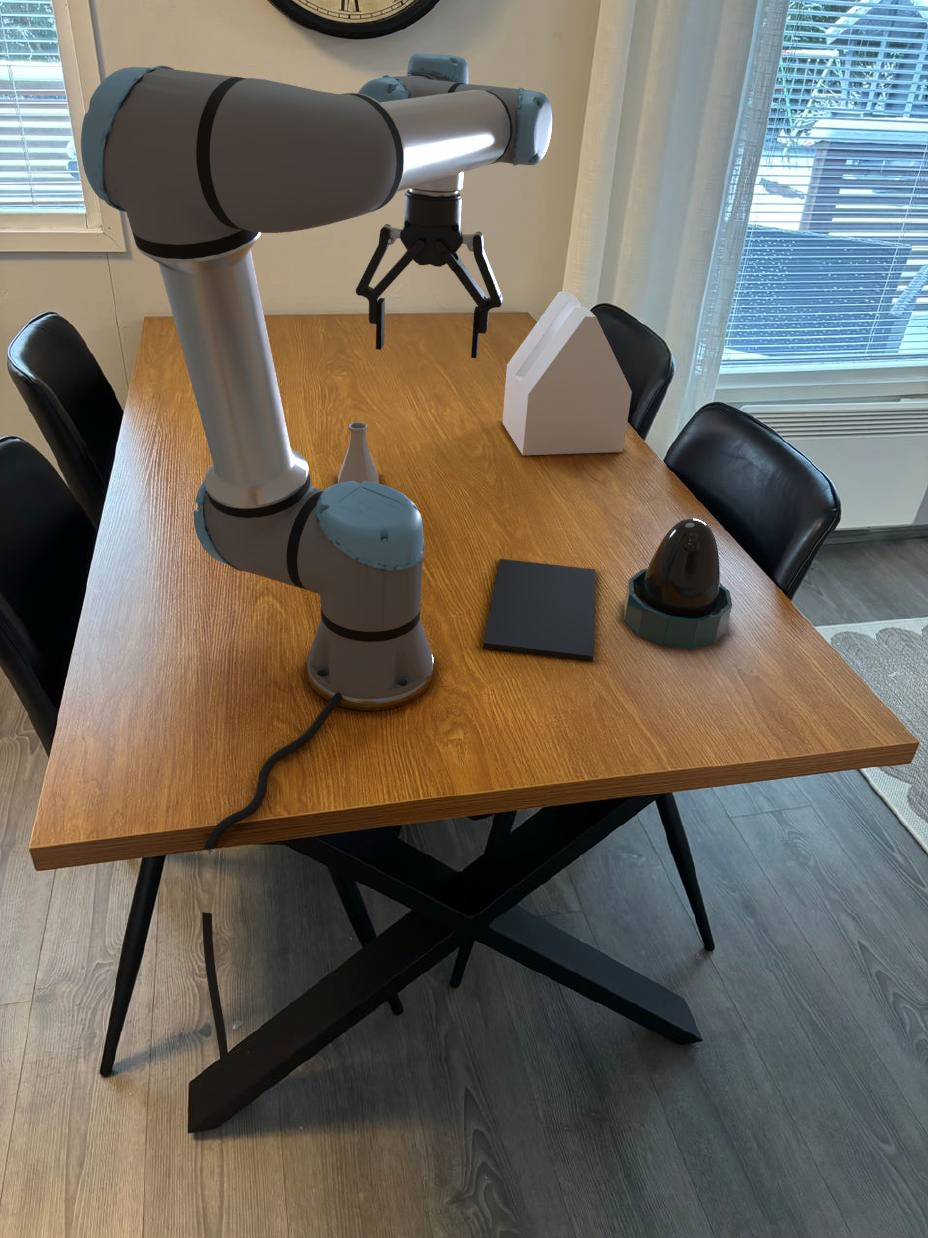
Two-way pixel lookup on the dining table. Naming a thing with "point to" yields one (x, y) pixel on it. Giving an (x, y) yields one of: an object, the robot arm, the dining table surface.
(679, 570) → the dark glossy rounded piece
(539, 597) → the rubber mat
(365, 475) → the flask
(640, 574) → the teal ring
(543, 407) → the white pentagonal block
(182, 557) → the dining table surface
